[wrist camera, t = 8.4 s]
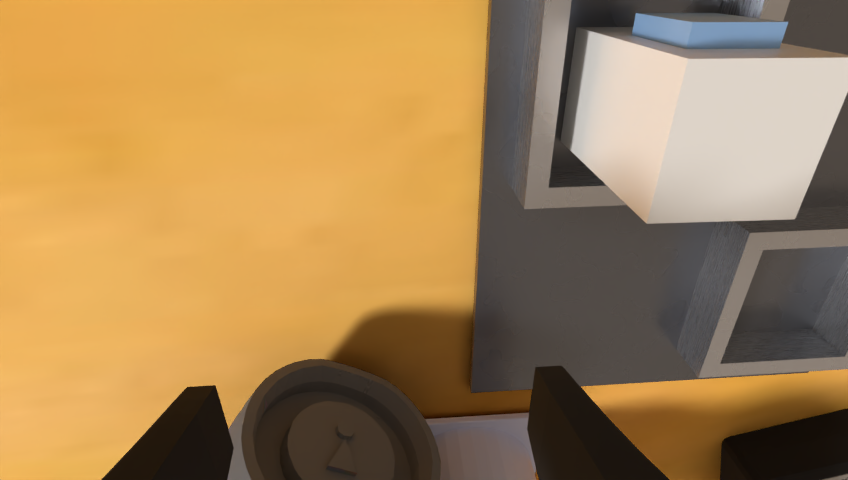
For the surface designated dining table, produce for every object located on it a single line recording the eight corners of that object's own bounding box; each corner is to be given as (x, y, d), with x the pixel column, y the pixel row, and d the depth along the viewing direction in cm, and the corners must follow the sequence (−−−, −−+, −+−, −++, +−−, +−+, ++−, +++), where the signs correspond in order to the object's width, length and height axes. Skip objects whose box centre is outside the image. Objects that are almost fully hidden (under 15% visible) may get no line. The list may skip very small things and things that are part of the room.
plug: (661, 139, 19) (794, 219, 13) (560, 140, 19) (646, 223, 12) (694, 7, 17) (874, 27, 10) (579, 7, 16) (695, 28, 10)
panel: (801, 365, 26) (839, 401, 24) (469, 385, 25) (477, 424, 23) (1017, -76, 16) (1113, -84, 14) (492, -74, 15) (510, -81, 13)
